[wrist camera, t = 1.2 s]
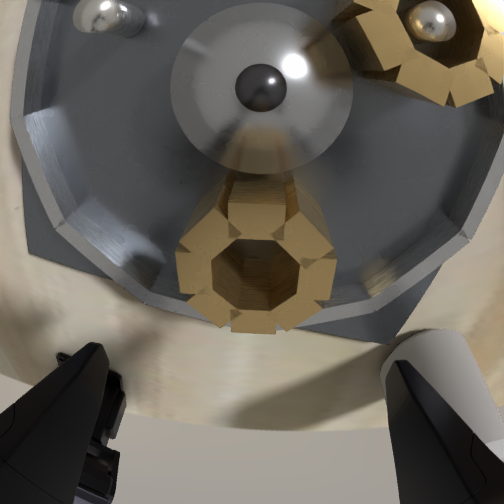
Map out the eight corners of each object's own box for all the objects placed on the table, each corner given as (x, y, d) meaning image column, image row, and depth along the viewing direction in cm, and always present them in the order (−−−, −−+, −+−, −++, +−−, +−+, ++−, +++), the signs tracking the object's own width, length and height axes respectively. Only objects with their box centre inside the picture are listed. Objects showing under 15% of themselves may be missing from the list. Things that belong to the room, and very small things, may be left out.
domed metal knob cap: (173, 138, 14) (154, 152, 12) (207, 1, 11) (193, -13, 8) (312, 174, 15) (320, 196, 12) (357, 41, 11) (376, 36, 9)
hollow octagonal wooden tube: (201, 278, 18) (185, 328, 15) (193, 168, 15) (169, 201, 11) (313, 283, 18) (321, 335, 14) (328, 173, 14) (345, 208, 11)
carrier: (36, 244, 19) (-1, 283, 15) (103, -122, 6) (67, -149, 2) (385, 334, 21) (401, 385, 17) (526, -4, 8) (575, -6, 4)
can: (389, 393, 25) (414, 516, 15) (365, 348, 22) (395, 506, 12) (465, 358, 22) (509, 476, 12) (457, 304, 19) (525, 449, 9)
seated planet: (318, 61, 12) (335, 57, 8) (353, -51, 9) (379, -84, 5) (439, 114, 12) (485, 132, 9) (469, 9, 9) (518, 2, 6)
